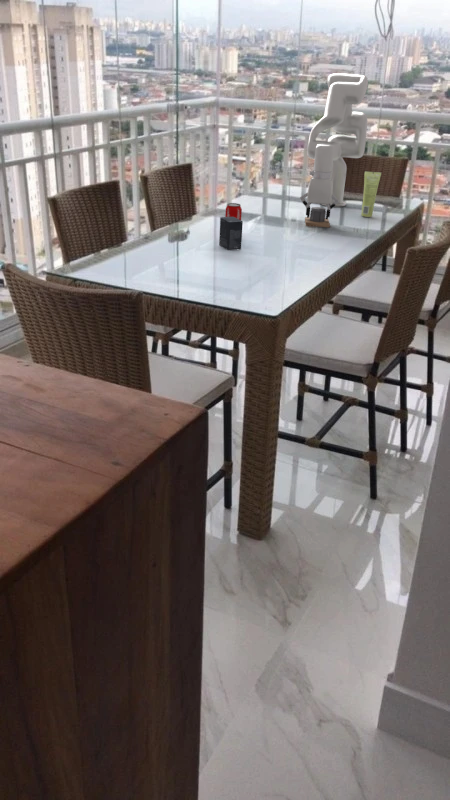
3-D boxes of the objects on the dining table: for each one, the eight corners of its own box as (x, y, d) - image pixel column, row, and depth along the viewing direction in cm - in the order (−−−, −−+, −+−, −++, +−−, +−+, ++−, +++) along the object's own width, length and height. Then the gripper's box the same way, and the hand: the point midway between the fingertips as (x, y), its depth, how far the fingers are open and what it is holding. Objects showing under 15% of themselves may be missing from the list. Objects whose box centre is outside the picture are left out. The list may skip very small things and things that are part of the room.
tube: (366, 214, 322) (372, 170, 313) (375, 216, 319) (381, 172, 310) (358, 215, 319) (364, 171, 310) (367, 218, 316) (373, 173, 307)
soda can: (242, 234, 279) (244, 204, 273) (236, 238, 273) (238, 207, 268) (228, 232, 281) (230, 202, 275) (221, 235, 276) (223, 204, 270)
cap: (309, 221, 298) (310, 209, 296) (311, 218, 304) (312, 206, 301) (323, 222, 297) (324, 210, 295) (325, 219, 302) (326, 207, 300)
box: (241, 249, 259) (243, 220, 254) (227, 250, 257) (229, 221, 252) (232, 244, 265) (233, 216, 261) (218, 245, 263) (219, 216, 258)
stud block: (304, 220, 305) (305, 208, 303) (327, 221, 305) (329, 210, 303) (305, 226, 297) (306, 213, 294) (329, 227, 296) (330, 215, 294)
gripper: (300, 174, 290) (296, 217, 298) (342, 178, 287) (336, 222, 295) (302, 172, 296) (298, 214, 305) (343, 175, 293) (338, 218, 301)
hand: (317, 217), depth 300 cm, fingers open, 7 cm apart
